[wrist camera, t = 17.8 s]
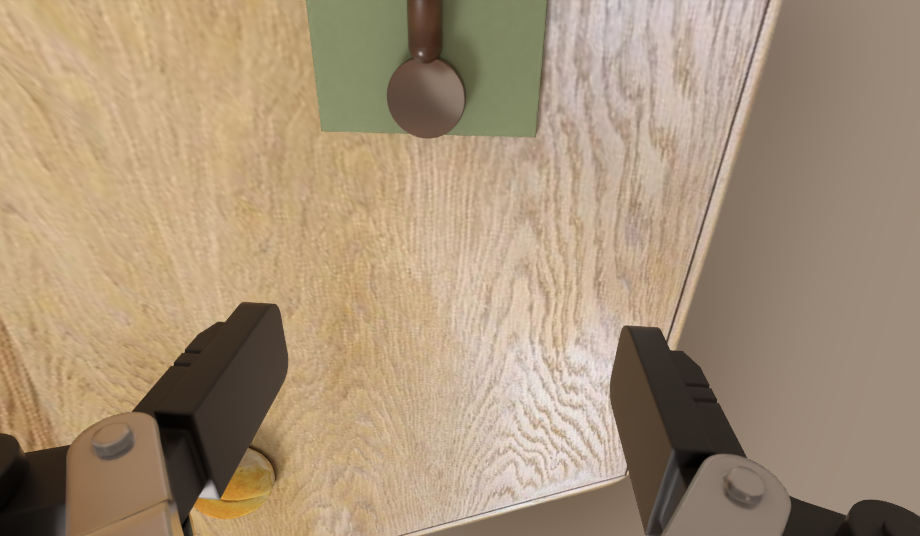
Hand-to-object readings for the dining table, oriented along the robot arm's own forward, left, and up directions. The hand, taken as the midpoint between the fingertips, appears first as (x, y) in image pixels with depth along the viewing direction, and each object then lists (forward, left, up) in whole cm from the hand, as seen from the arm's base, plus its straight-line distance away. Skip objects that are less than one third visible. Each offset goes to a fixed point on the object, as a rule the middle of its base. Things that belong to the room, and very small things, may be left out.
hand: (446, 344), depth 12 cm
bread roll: (+39, +18, -24) cm, 49 cm away
